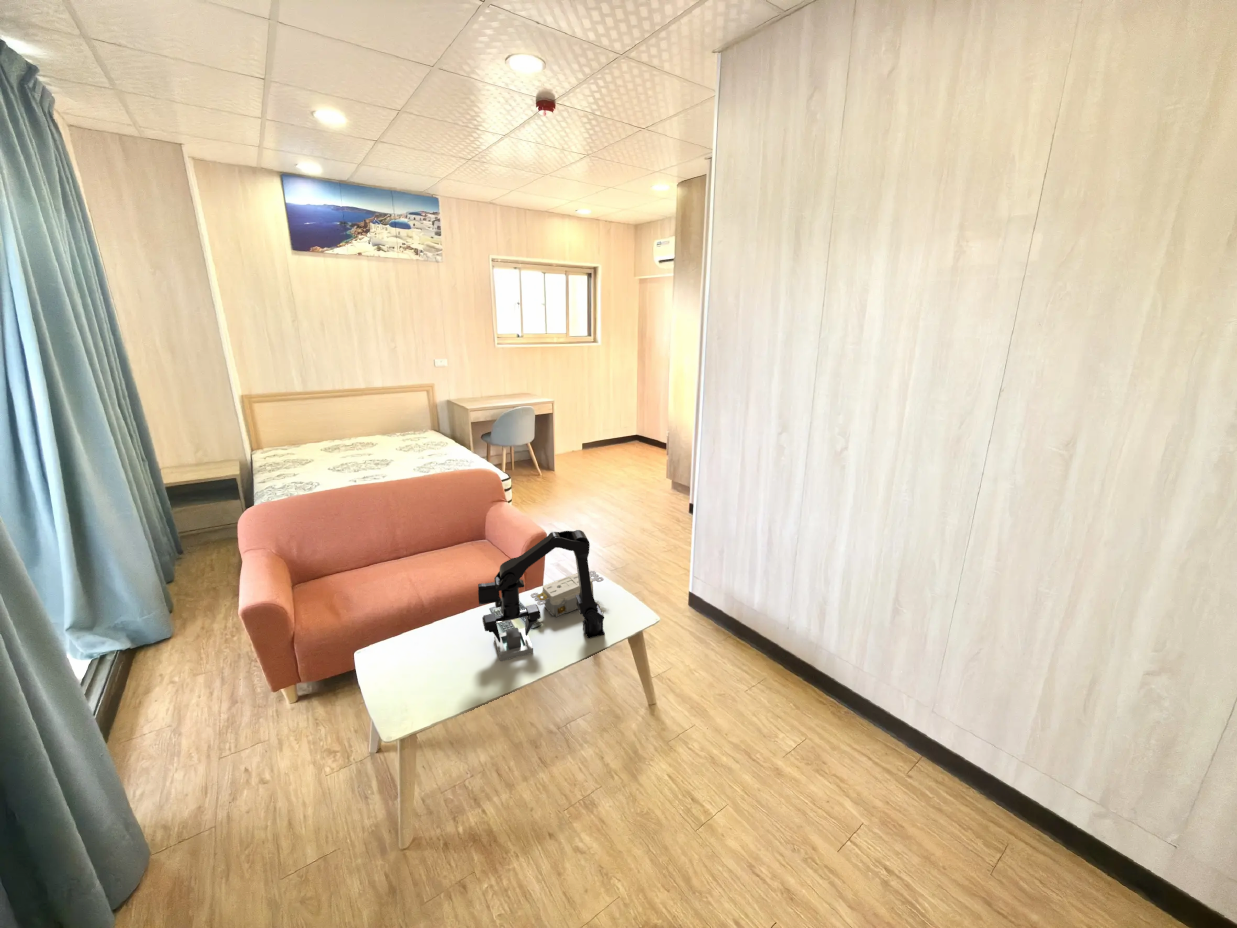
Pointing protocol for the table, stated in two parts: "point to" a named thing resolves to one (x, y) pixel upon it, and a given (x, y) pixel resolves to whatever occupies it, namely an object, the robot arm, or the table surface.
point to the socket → (523, 650)
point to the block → (513, 638)
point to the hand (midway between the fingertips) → (513, 638)
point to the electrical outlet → (563, 594)
